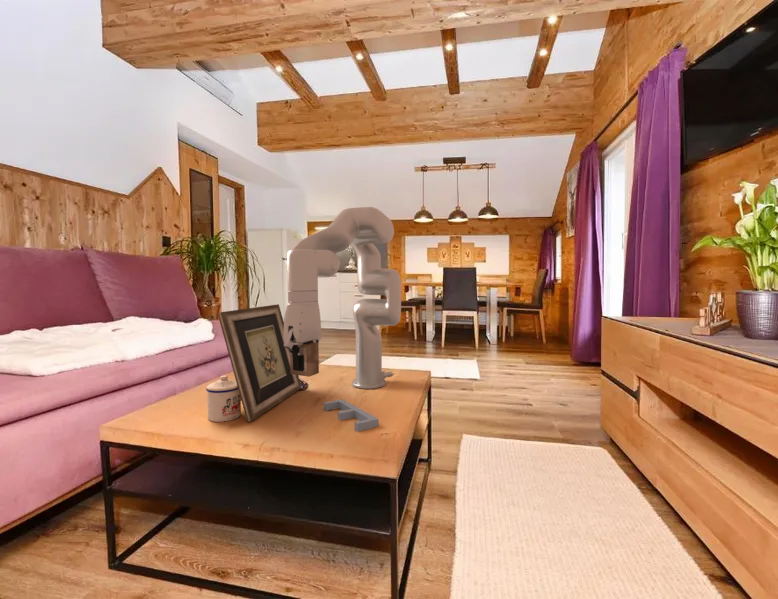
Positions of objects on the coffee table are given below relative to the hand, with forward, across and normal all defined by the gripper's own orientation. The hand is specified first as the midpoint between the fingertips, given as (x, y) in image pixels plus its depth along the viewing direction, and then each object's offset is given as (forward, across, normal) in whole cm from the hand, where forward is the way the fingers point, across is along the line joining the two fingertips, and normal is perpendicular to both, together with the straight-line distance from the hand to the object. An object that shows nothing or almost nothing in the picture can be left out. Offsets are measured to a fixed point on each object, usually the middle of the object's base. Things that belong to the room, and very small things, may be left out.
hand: (304, 367), depth 101 cm
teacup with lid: (+16, +2, -26) cm, 31 cm away
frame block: (+2, 0, 0) cm, 2 cm away
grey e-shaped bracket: (+16, -12, +6) cm, 21 cm away
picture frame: (+17, -11, -24) cm, 31 cm away
